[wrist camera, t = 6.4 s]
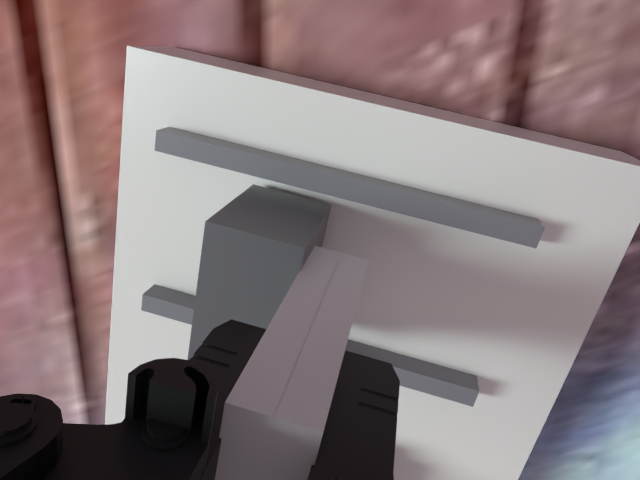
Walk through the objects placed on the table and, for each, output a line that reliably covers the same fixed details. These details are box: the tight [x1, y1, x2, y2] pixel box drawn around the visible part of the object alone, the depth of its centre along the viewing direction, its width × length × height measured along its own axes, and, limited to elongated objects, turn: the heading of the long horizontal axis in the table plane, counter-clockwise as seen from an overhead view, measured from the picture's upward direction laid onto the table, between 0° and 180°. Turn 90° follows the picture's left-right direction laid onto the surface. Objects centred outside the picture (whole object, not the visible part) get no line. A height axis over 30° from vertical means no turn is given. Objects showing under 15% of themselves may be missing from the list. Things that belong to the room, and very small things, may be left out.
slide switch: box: [187, 184, 331, 360], centre depth 14 cm, size 4×2×4 cm, turn 168°
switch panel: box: [105, 46, 640, 480], centre depth 19 cm, size 26×15×5 cm, turn 168°
